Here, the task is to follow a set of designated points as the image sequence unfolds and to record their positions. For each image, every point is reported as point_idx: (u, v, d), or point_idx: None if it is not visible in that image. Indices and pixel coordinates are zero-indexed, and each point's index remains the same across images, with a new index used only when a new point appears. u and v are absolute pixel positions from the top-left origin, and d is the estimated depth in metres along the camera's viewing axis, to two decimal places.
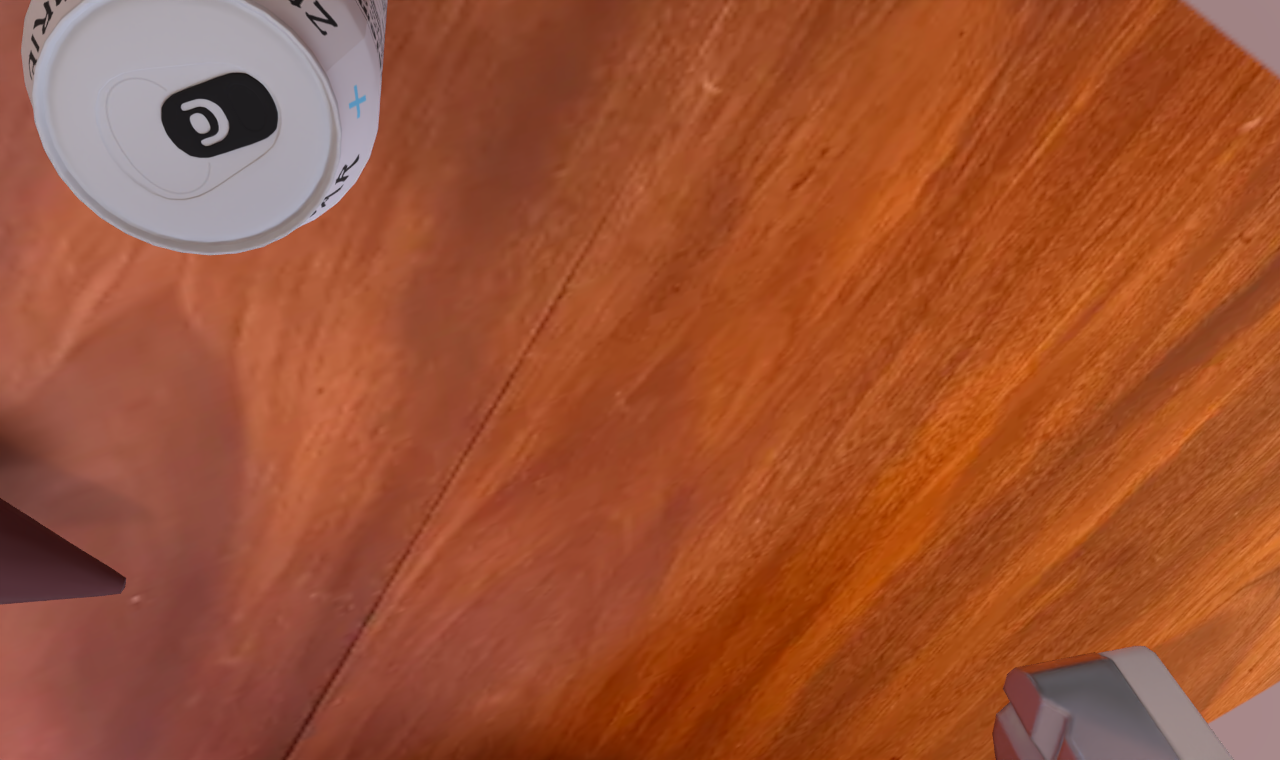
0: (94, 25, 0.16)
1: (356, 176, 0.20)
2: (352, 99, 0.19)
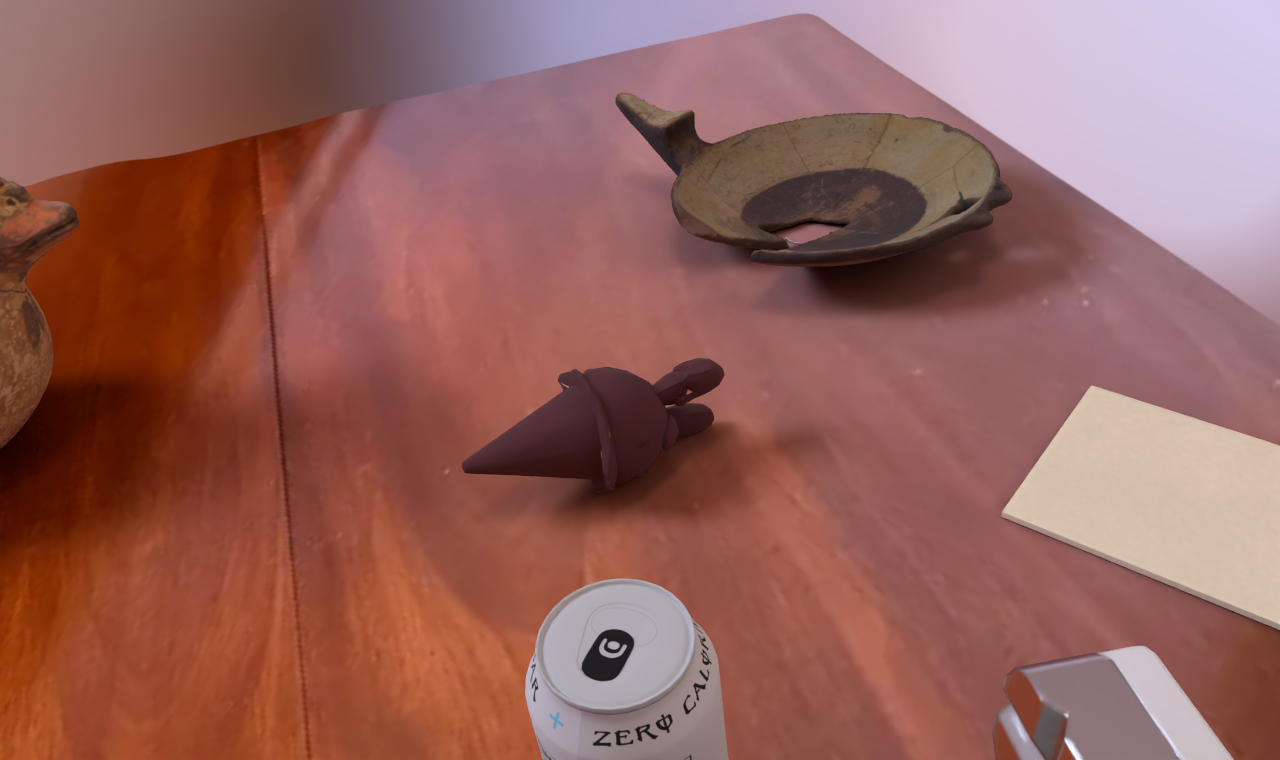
0: (682, 646, 0.31)
1: (527, 695, 0.32)
2: (559, 718, 0.30)
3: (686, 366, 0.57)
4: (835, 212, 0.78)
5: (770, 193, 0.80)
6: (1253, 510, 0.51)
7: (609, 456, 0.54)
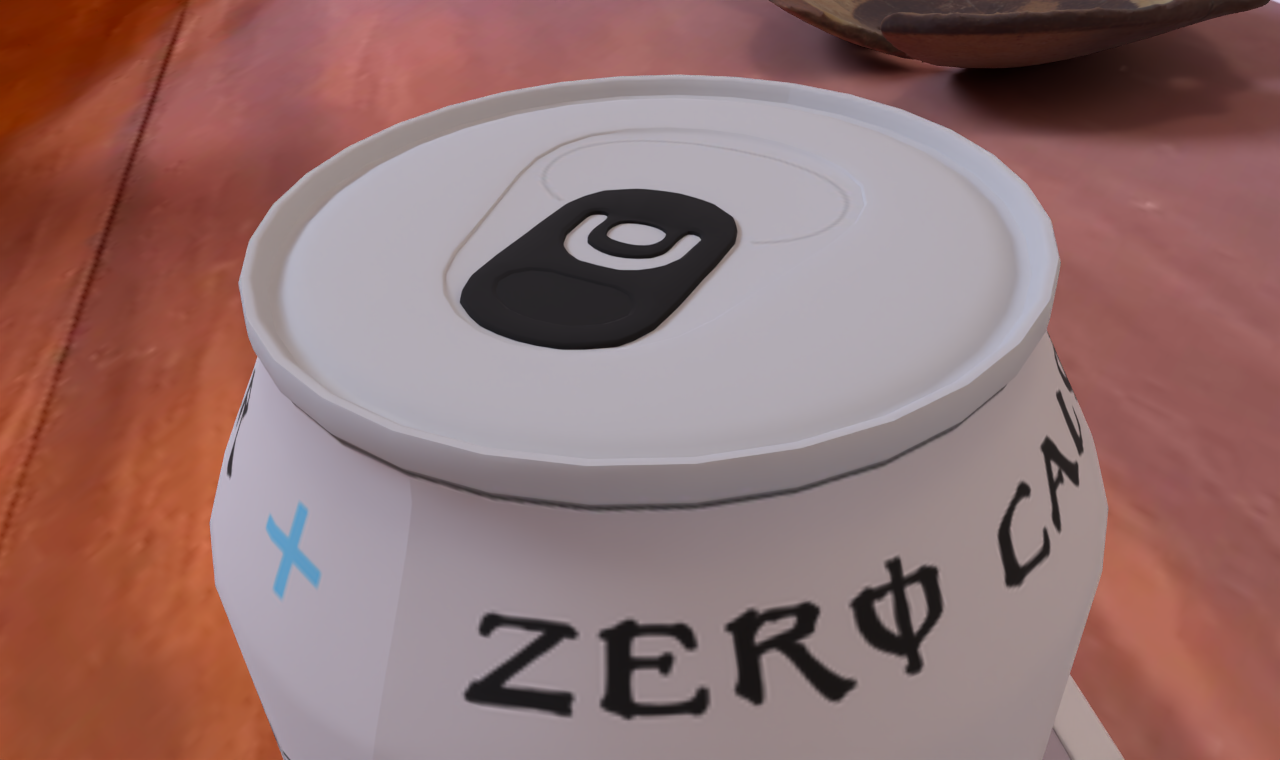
0: (989, 251, 0.06)
1: (223, 464, 0.07)
2: (305, 535, 0.06)
3: None
4: None
5: None
6: None
7: None
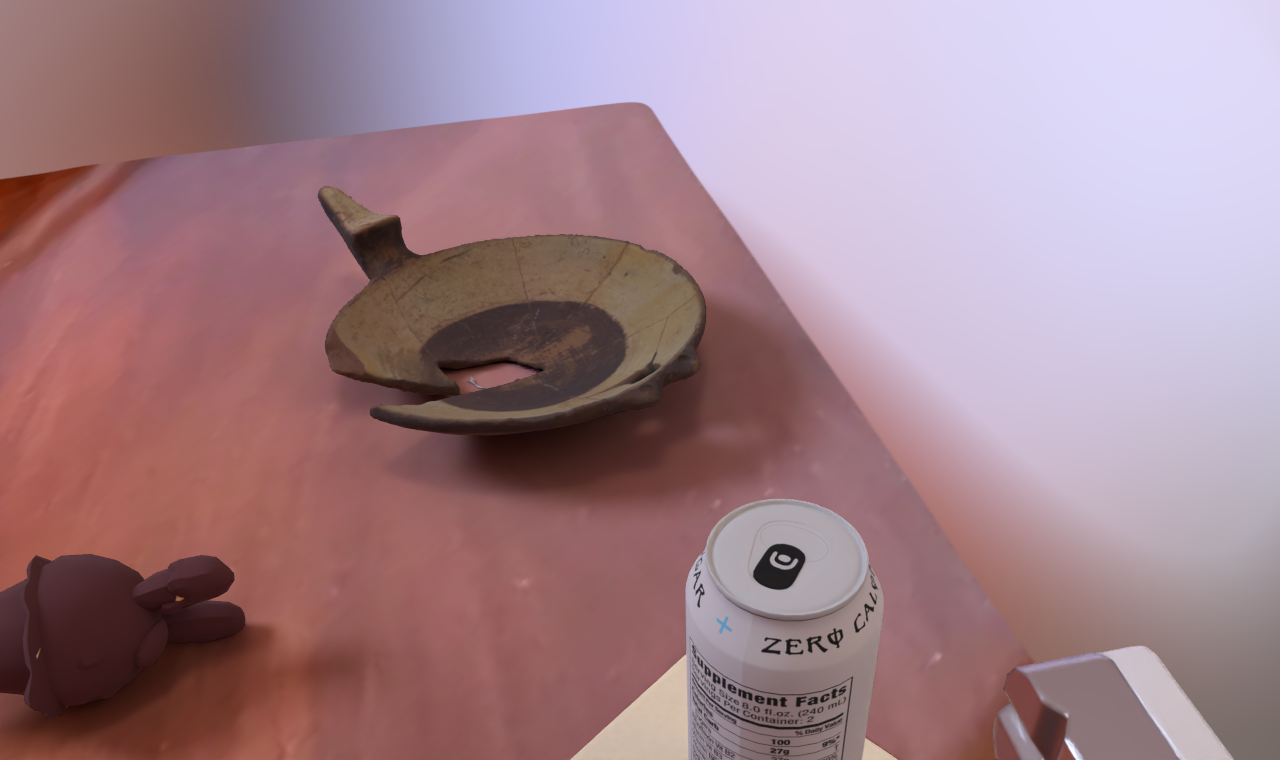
0: (855, 566, 0.31)
1: (689, 602, 0.32)
2: (727, 622, 0.30)
3: (179, 567, 0.45)
4: (535, 353, 0.66)
5: (473, 321, 0.69)
6: None
7: (32, 682, 0.42)
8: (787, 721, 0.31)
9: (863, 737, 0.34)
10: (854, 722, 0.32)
